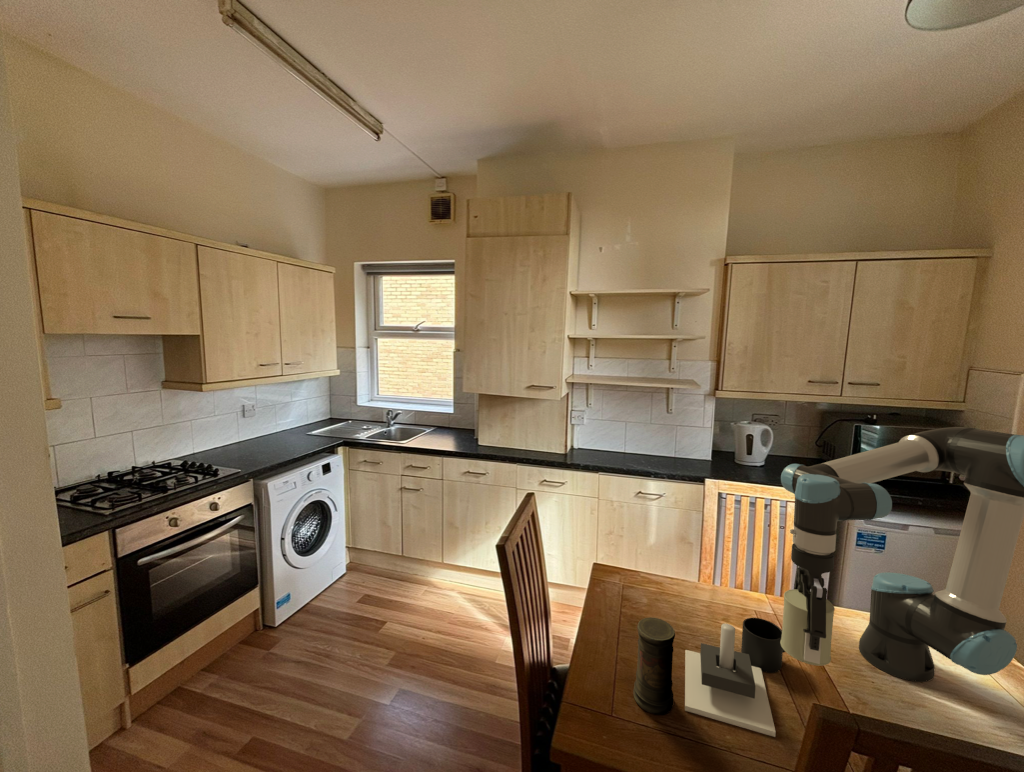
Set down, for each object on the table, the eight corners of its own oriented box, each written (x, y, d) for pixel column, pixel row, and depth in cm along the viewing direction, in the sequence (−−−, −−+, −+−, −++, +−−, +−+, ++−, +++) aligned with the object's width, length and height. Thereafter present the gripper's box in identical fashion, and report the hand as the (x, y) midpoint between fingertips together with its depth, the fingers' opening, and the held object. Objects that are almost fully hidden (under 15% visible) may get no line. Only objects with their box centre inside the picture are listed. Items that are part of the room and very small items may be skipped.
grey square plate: (748, 665, 108) (749, 654, 108) (754, 698, 98) (755, 686, 98) (700, 653, 112) (700, 642, 112) (701, 684, 102) (702, 672, 102)
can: (829, 646, 96) (833, 595, 95) (832, 672, 89) (837, 616, 88) (780, 631, 101) (783, 582, 100) (779, 655, 94) (783, 602, 93)
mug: (799, 674, 111) (802, 641, 110) (752, 672, 111) (753, 639, 110) (778, 649, 120) (780, 618, 119) (734, 647, 120) (736, 616, 120)
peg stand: (760, 672, 111) (764, 612, 110) (775, 737, 93) (779, 666, 91) (685, 653, 118) (687, 597, 116) (684, 710, 99) (687, 644, 98)
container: (629, 684, 107) (631, 615, 106) (666, 685, 107) (668, 616, 105) (639, 715, 98) (641, 640, 97) (679, 716, 98) (682, 641, 96)
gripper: (782, 525, 104) (776, 614, 106) (804, 567, 84) (797, 676, 86) (819, 530, 102) (812, 622, 103) (851, 575, 82) (842, 687, 84)
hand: (805, 646), depth 95 cm, fingers closed on can, 9 cm apart
